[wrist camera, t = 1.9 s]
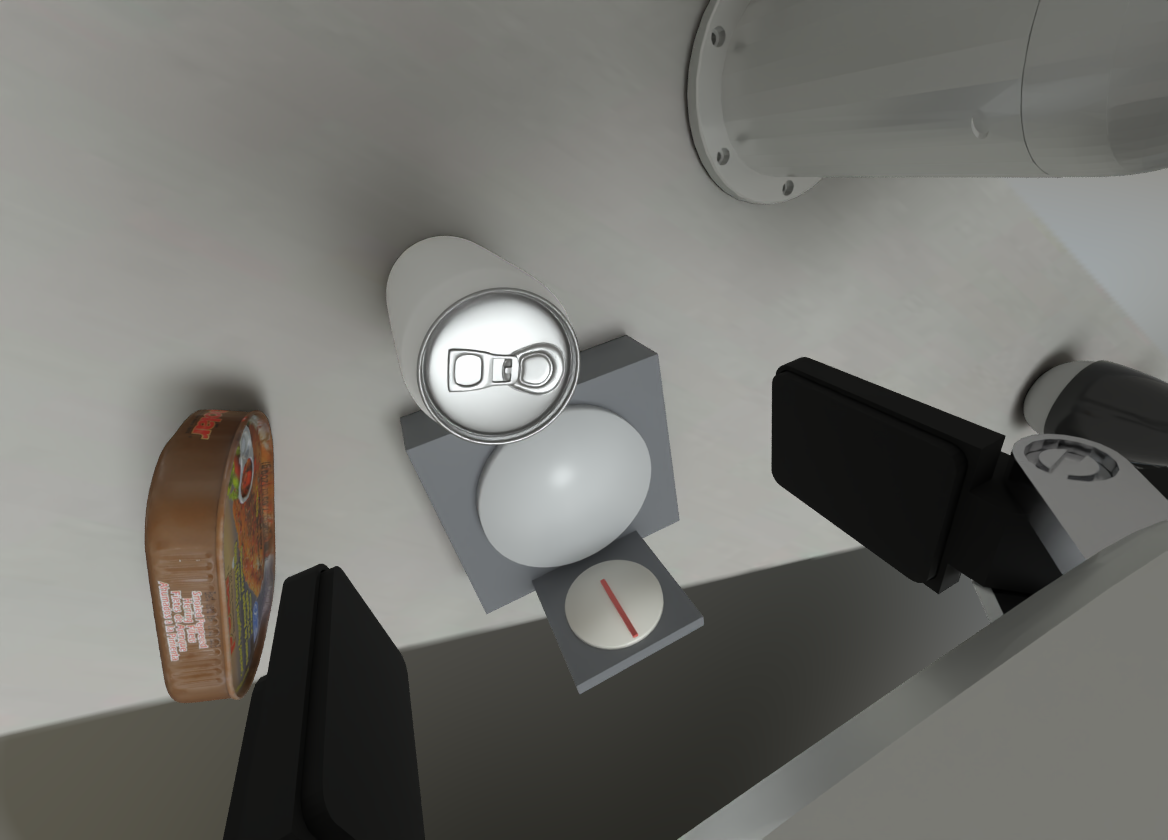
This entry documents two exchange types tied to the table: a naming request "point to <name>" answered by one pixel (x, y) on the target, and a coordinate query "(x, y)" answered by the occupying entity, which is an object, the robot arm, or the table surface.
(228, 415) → the tin
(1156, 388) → the pump dispenser
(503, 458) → the scale
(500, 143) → the table surface
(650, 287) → the table surface
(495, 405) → the can
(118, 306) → the table surface
